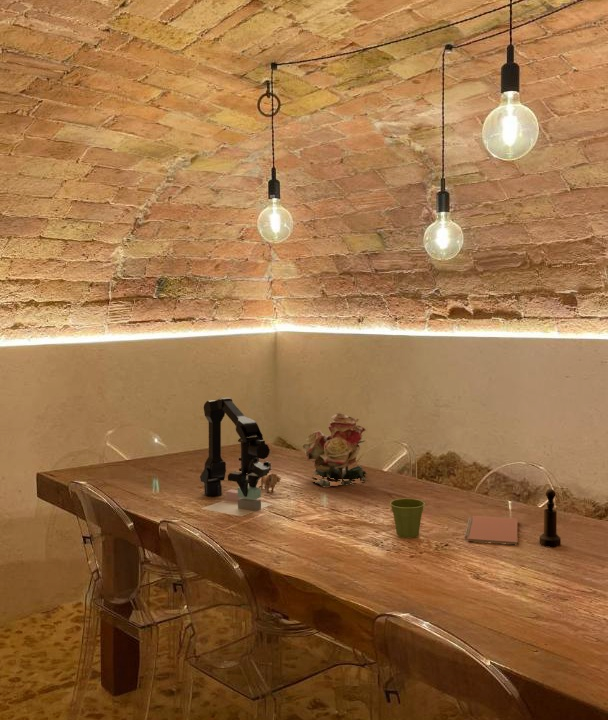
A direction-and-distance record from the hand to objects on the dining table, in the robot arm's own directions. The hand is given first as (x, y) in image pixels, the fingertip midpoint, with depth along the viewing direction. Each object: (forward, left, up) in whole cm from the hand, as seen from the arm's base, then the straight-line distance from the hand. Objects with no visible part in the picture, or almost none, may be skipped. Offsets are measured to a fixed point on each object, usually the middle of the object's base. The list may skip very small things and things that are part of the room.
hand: (249, 495), depth 290 cm
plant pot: (+65, +3, -6) cm, 65 cm away
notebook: (+87, +22, -6) cm, 90 cm away
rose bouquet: (+4, +57, -6) cm, 58 cm away
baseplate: (-6, 0, -6) cm, 8 cm away
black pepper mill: (+108, +19, -6) cm, 110 cm away
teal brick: (0, 0, -1) cm, 1 cm away
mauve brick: (-12, +7, -5) cm, 15 cm away
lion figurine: (-10, +26, -6) cm, 28 cm away
